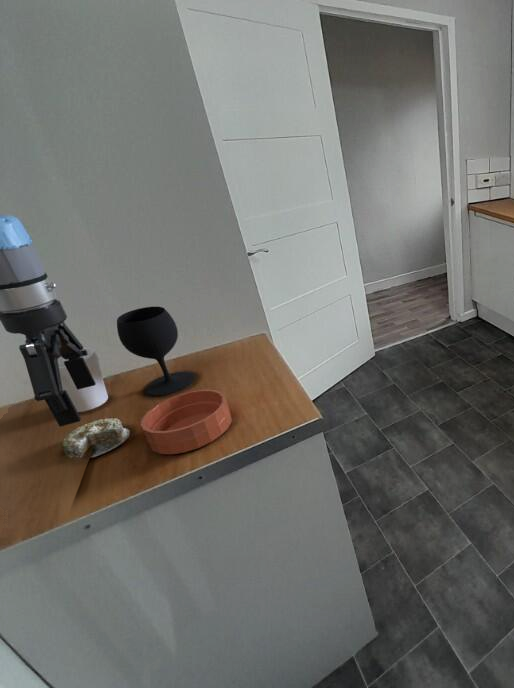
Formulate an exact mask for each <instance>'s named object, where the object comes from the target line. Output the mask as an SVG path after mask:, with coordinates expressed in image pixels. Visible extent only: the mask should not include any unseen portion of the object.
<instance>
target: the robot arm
mask: <svg viewBox="0 0 514 688" xmlns="http://www.w3.org/2000/svg"><path fill="white" fill-rule="evenodd" d="M56 288H57V284H56V283H55V282H50V279H49V276H48V274H47V272H46V270H45V268H44V266H43V264H42V261H41V259H40V257H39V255H38V253H37V251H36V248H35V246H34V243H33V240H32V237H31V236H29V234H28V232H27V230H26V229H25V227H24V225H23V224H22V223H21V220H20V219H19V218H18V217H16V216H13V215H9V214H0V323H1V325H2V326H3V328H4V330H5V331H6V332H7V333H10V334H13V335H15V334H19V335H24V336H25V344H19V346H18V349H19V351H20V353H21V355H22V357H23V359H24V364H25V366H26V370H27V373H28V377H29V381H30V383H31V384H30V385H31V387H32V391H33V395H34V396H33V398H34V400H35V401H36V402H41V401H45V403H46V405H47V407H48V408H49V410H50V412H51V413H52V415H53V417H54V420H55V421H56V423H57V425H58V426H59V427H64V426H68V425H71V424H75V423H79V422H81V421H82V417H81V416H80V414H79V412H77V410H76V408H75V406H74V404H73V403H72V401H71V399H70V397H69V395H68V393H67V391H66V390H65V391H63V389H62V383H61V377H60V371H59V365H58V358H60V357H63V358H64V359H65V360H67V359H69V360H68V361H64V364H65V366H66V368H67V370H68V372H69V374H70V376H71V378H72V380H73V382H74V384H75V386H76V388H77V390H78V389H82V388H86V387H90V386H94V385H95V384H96V383H95V381H94V379H93V377H92V375H91V373H90V371H89V369H88V367H87V364H86V362H85V360H84V358H83V357H82V358H81V356H86V355H88V353H87V351H86V350H83V347H84V346H83V345H82V343H81V342H80V341H79V339H78V338H77V337H76V336H75V334H74V333H73V332H72V330H70V328H69V327H68V326H67V324H66V323H65V321H66V320H67V318H68V316H67V312H66V311H65V309H64V307H63V304H62V303H61V301H60V300H59V299H57V293H56V291H55V289H56ZM80 350H83V351H80Z"/></svg>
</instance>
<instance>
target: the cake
mask: <svg viewBox="0 0 514 688" xmlns="http://www.w3.org/2000/svg"><path fill="white" fill-rule="evenodd" d="M129 436H130V429H128V428H126V427H123V424H122V422H121V420H120V419H119V418H103V419H102V418H101V419H98V420H94V421H92V422H89V423H86V424H83V425H81V426H79V427H77V428H75V429H74V430H72V431H71V432H70V433H67V434H66V435H65V437H64V438H63V439H62V441H61V442H62V450H63V451H64V454H65V455H66V456H67V457H69V458H71V459H72V458H79V457H80V458H82V457H83V456H84V455H85V453H86V452H88V450H89V448H90V447H92V446H93V447H92V449H91V452H90V455H89V457H88V458H89V459H93V458H96V457H98V456H101V455H103V454H106V453H108V452H110V451H111V450H114V449H115V448H117V447H119V446H121V444H123V443H124V442H126V440H127V439H128V438H129Z"/></svg>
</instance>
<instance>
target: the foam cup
mask: <svg viewBox="0 0 514 688" xmlns="http://www.w3.org/2000/svg"><path fill="white" fill-rule="evenodd" d="M83 350H86V351H87V353H88V355H86V356H81V358H82V357H83V358H84V360H85V362H86V364H87V367H88V369H89V371H90V373H91V375H92V377H93V379H94V381H95V383H96V384H95V385H94V386H90V387H86V388H82V389H78V390H77V388H76V386H75V384H74V382H73V380H72V378H71V376H70V374H69V372H68V370H67V368H66V366H65V364H64V361H68V360H69V359H67V360H65V359H64V358H63V357H60V358H58V365H59V371H60V377H61V383H62V389H63V391H65V390H66V391H67V393H68V395H69V397H70V399H71V401H72V403H73V404H74V406H75V408H76V410H77V412H78V413H83V412H87V411H91V410H93V409H96V408H98V407H101V406H102V405H104V404H105V403H106V402H107V401H108V399H109V395H108V392H107V388H106V385H105V381H104V378H103V374H102V370H101V367H100V366H101V365H100V363H99V361H100V359H99V357H98V355H97V353H96V350H95V349H94V348H93V347H88V346H83ZM83 350H80V351H83Z"/></svg>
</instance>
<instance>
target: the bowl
mask: <svg viewBox="0 0 514 688" xmlns="http://www.w3.org/2000/svg"><path fill="white" fill-rule="evenodd" d="M232 419H233V418H232V413H231V409H230V406H229V404H228V400H227V398H226V395H225V394H224V393H223V392H221V391H219V390H215V389H206V388H205V389H197V390H192V391H191V390H190V391H187V392H183V393H179V394H177V395H174V396H172V397H169V398H168V399H165V400H163V401H161V402H159V403H157V404H156V405H154V406H153V407H152V408H151V409H149V410H148V411H147V412H146V413H145V415H143V417H142V418H141V422H140V427H141V430H142V432H143V434H144V436H145V438H146V441H147V443H148V446H149V447H150V449H151V451H153V452H154V453H157V454H160V455H177V454H184V453H187V452H191V451H194V450H197V449H199V448H201V447H204V446H206V445H208V444H210V443H212V442H213V441H215V440H216V439H218V438H219V437H220V436H222V435H223V434H224V433H225V432H226V431H227V430H228V428H229V427H230V426H231V423H232V421H233V420H232Z"/></svg>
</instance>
